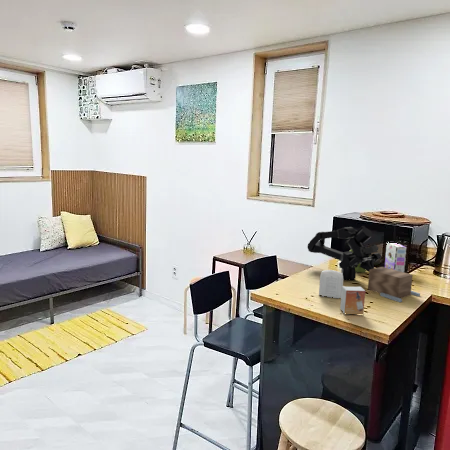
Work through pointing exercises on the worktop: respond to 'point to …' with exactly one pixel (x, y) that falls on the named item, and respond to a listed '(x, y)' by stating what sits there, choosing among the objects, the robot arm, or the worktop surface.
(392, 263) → the candy box
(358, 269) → the plant pot
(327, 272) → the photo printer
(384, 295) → the bay rails
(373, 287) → the walnut box
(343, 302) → the small box
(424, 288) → the worktop surface
